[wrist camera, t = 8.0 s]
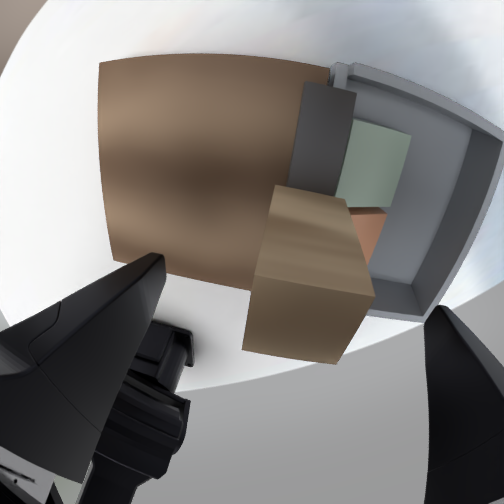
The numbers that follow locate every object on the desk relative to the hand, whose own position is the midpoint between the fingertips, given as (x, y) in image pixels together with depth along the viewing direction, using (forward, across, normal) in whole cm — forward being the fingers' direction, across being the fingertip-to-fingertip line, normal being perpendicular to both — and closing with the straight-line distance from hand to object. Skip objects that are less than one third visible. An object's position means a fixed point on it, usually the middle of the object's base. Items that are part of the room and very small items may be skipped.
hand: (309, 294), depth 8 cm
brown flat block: (+10, +6, 0) cm, 12 cm away
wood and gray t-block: (+7, 0, 0) cm, 7 cm away
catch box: (+10, -6, 0) cm, 12 cm away
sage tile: (+9, -2, -2) cm, 10 cm away
